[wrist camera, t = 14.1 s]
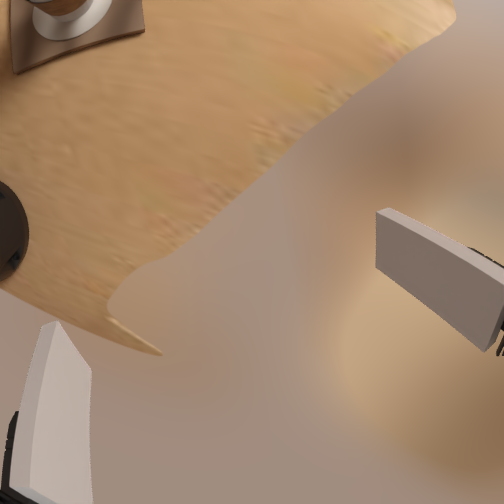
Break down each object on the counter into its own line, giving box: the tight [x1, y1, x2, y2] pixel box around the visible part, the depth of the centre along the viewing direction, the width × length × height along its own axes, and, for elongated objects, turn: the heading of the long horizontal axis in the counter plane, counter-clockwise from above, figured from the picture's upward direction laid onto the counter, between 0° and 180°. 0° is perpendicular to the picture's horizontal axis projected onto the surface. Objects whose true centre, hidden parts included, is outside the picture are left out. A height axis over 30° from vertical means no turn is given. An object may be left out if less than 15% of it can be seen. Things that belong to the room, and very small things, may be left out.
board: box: [11, 0, 145, 75], centre depth 23 cm, size 18×14×2 cm
